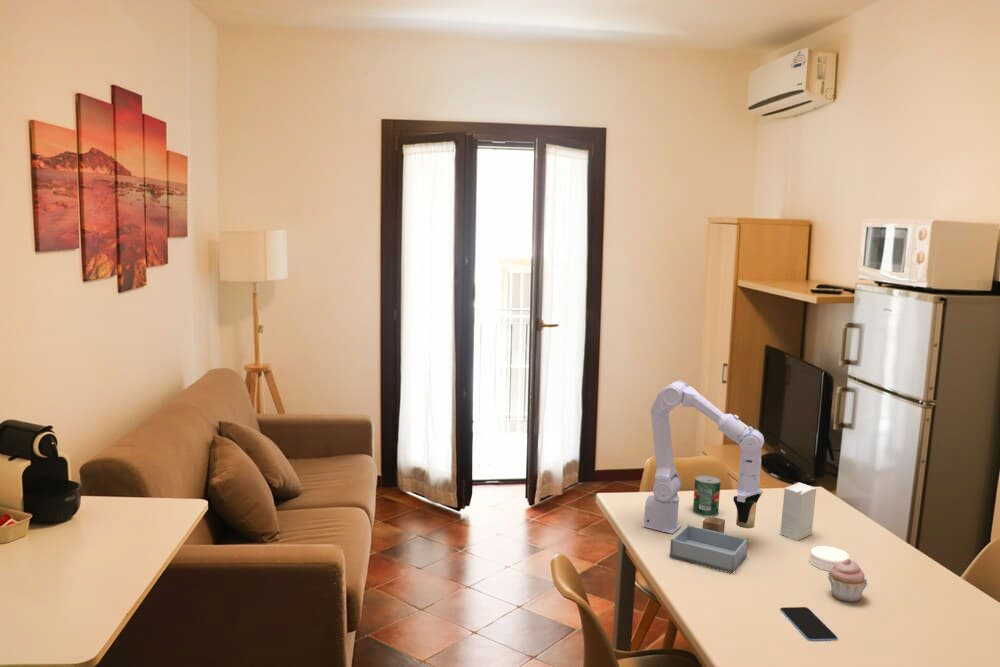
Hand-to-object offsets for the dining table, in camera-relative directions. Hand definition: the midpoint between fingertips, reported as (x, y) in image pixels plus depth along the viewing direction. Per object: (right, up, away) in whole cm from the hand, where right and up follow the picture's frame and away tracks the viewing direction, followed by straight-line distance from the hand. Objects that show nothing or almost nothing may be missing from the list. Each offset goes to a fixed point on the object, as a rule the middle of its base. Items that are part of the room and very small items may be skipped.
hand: (745, 519), depth 228 cm
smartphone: (+1, -14, -44) cm, 46 cm away
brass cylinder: (0, -2, 0) cm, 2 cm away
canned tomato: (-5, -4, +25) cm, 26 cm away
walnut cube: (-8, -6, +6) cm, 12 cm away
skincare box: (+18, -7, +9) cm, 21 cm away
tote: (-13, -8, -9) cm, 18 cm away
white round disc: (+19, -10, -11) cm, 24 cm away
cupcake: (+16, -13, -30) cm, 36 cm away
